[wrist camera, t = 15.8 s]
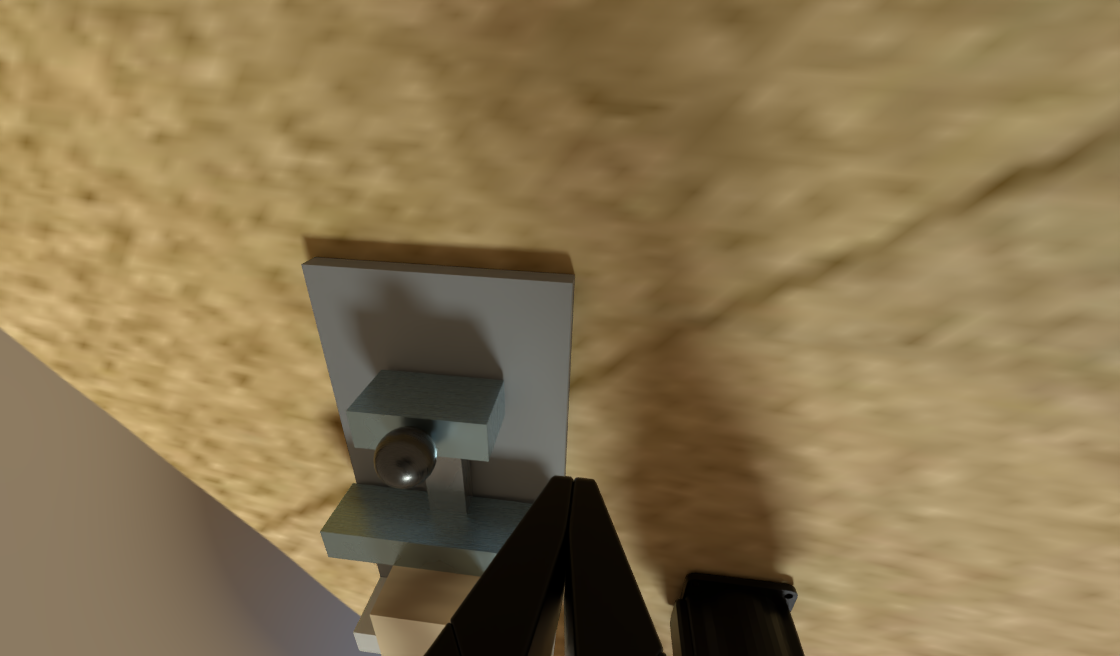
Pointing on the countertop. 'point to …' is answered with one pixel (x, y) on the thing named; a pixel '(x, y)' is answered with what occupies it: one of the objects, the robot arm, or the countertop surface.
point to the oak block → (416, 608)
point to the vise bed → (453, 360)
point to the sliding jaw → (424, 475)
